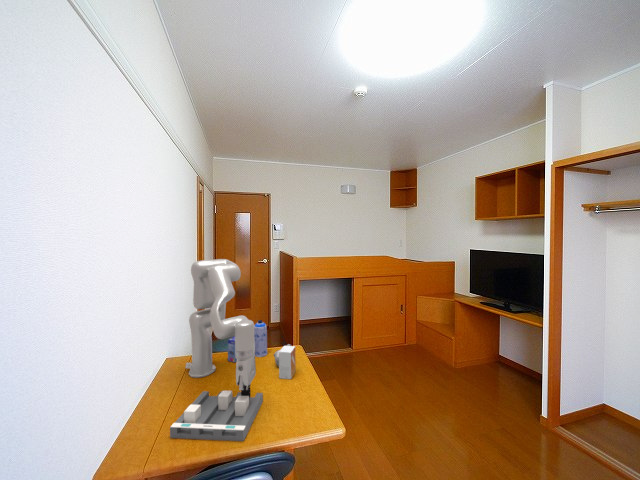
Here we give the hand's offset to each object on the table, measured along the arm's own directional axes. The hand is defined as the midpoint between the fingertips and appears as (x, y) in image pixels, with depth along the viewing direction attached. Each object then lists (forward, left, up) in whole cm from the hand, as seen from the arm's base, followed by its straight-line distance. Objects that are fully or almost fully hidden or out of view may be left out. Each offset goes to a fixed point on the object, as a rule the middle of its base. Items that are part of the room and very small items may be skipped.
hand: (245, 398), depth 106 cm
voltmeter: (+6, +45, -5) cm, 45 cm away
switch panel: (-8, -5, -5) cm, 11 cm away
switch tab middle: (-8, -1, -3) cm, 9 cm away
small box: (+11, +28, -5) cm, 31 cm away
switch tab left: (-16, -10, -3) cm, 19 cm away
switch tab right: (0, -4, -3) cm, 5 cm away
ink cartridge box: (-22, +45, -5) cm, 51 cm away
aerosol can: (-10, +51, -5) cm, 52 cm away
